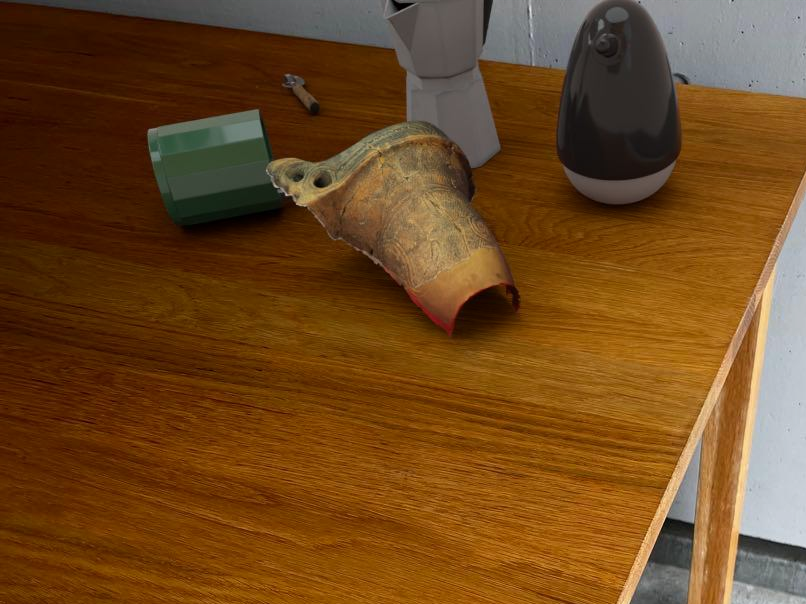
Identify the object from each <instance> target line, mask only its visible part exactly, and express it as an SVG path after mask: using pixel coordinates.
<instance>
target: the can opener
mask: <svg viewBox="0 0 806 604" xmlns="http://www.w3.org/2000/svg"><path fill="white" fill-rule="evenodd" d="M283 77H284V78H283V79H284V82H285V83H281V86H282V88H286V89H287V88H288V89H292V92H293V94H294V95H295V96H296V97H297V98H298V99H300V101H301V103H302V105H304V106H305V108H307V110H308V111H309V112H311V113H312V114H317V113H319V111H320V110H321V106H320V104H319V102H318V100H316V98H315V97H314V96H313V95H312V94H311V93H309V92H308V91H307V90H306V89H305V88H304V85H306V82H305V80H304V79H303V78H302V77H300V76H297V75H293V74H291V73H287V74H284V76H283ZM294 80H295V81H294Z"/></svg>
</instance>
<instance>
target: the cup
mask: <svg viewBox="0 0 806 604" xmlns="http://www.w3.org/2000/svg"><path fill="white" fill-rule="evenodd" d="M147 144H148V151H149V155H150V161H151V165H152V169H153V173H154V176H155V179H156V180H155V181H156V183H157V186H158V190H159V192H160V195H161V199H162V201H163V205H164V207H165V209H166V211H167V214H168V216H169V218H170V220H171V221H172V224H174V226H175V227H183V226H191V225H196V224H197V225H198V224H203V223H208V222H212V221H217V220H223V219H229V218H233V217H240V216H244V215H249V214H250V215H251V214H255V213H256V214H257V213H261V212H265V211H272V210H277V209H282V208H284V206H285V205H284V200H281V198H280V196H279V193H278V190H279V189H280V188H277V187H274V185H273V182H272V181H271V176H270V175H269V174H267V173H268V172H266V169H267V167H268V165H269V164H270V163H271V162H272V161H275V157H274V152H273V149H272V146H271V141H270V138H269V134H268V131H267V127H266V124H265V121H264V118H263V115H262V112H261V110H260V109H259V108H258V109H256V108H255V109H252V110H251V109H250V110H246V111H239V112H235V113H230V114H223V115H218V116H211V117H206V118H201V119H195V120H189V121H184V122H178V123H177V122H176V123H172V124H167V125H161V126H157V127H152V128H148V130H147Z"/></svg>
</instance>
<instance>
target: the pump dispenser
mask: <svg viewBox="0 0 806 604" xmlns="http://www.w3.org/2000/svg"><path fill="white" fill-rule="evenodd" d="M662 37H663V36H662V35H661V32H660V30H659V28H658V26H657V24H656V23H655V21H654V19H653V18H652V16H651V14H650V13H649V12H648V10H647V9H646V8H645V7H644V6H643V5H642V4H641V3H640V2H638V1H636V0H602V1H599V2H598V3H597V4H595V5H594V6H593V7H592V8H590V10H589V12H588V13H587V14H586V16H585V17H584V18H583V21H582V23H581V25H579V28H578V30H577V33H576V35H575V38H574V40H573V42H572V46H571V49H570V52H569V56H568V60H567V64H566V68H565V71H564V76H563V81H562V86H561V90H560V91H561V92H560V96H559V97H560V98H559V103H558V112H557V120H556V121H557V123H556V133H555V134H556V135H555V147H556V148H555V149H556V155H557V158H558V160H559V162H560V163H561V165H562V168H563V170H564V173H565V175H566V177H567V178H568V180H569V182H570V184H572V185H573V187H574V189H576V190H577V191H578V192H579V193H581V194H582V195H583V196H585V197H586V198H589V199H590V200H593V201H595V202H598V203H602V204H607V205H626V204H627V205H628V204H632V203H636V202H639V201H642V200H644V199H647V198H649V197H651V196H652V195H654V194H655V193H657V192H658V191H659V190H660V189H661V188H662V187H663V186H664V185H665V183H666V182H668V179H669V178H670V176H671V174H672V173H673V170H674V167H675V165H676V161H677V159H678V158H679V156H680V154H681V152H682V146H683V129H682V119H681V111H680V104H679V96H678V92H677V86H676V83H675V78H674V74H673V70H672V66H671V61H670V58H669V55H668V51H667V48H666V46H665V43H664V40H663V38H662Z"/></svg>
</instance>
